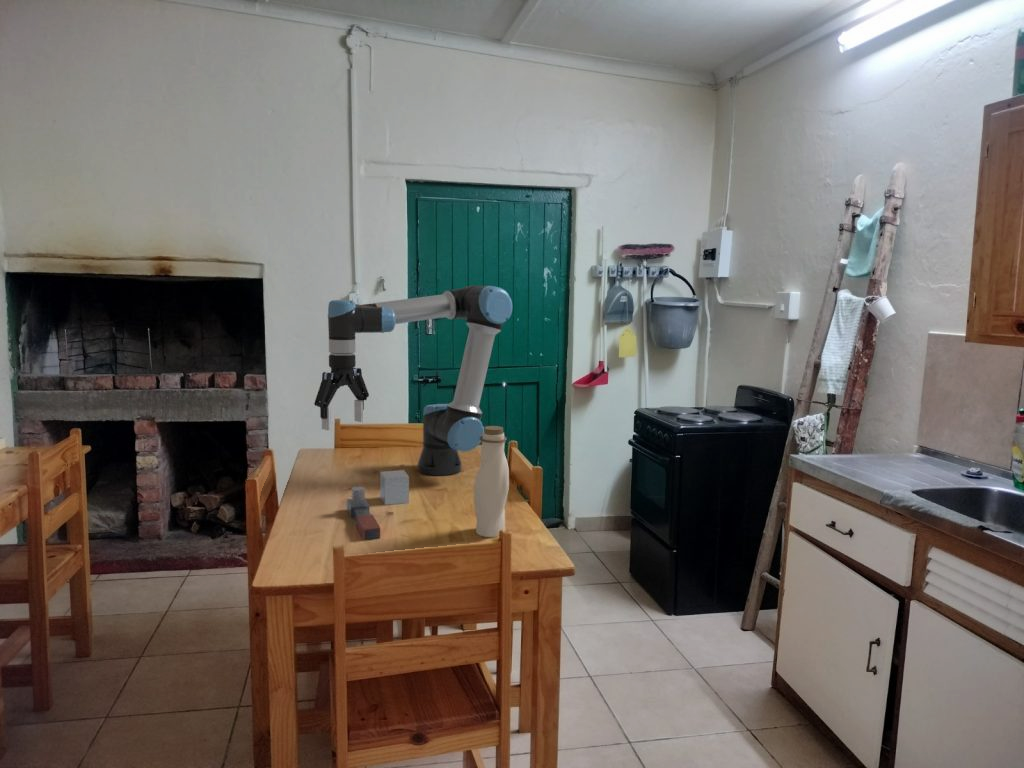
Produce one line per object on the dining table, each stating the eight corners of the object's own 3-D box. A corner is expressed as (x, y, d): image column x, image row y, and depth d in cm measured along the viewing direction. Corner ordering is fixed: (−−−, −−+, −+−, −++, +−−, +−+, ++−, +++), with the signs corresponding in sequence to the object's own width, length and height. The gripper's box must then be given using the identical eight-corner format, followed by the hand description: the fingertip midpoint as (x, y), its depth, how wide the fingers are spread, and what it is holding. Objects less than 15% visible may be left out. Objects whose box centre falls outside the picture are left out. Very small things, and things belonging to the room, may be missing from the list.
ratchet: (364, 507, 194) (364, 484, 193) (381, 538, 172) (381, 511, 171) (347, 509, 192) (346, 485, 191) (361, 540, 170) (361, 513, 169)
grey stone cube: (403, 495, 206) (403, 470, 205) (408, 502, 199) (409, 476, 198) (380, 497, 203) (380, 471, 202) (385, 504, 197) (385, 478, 196)
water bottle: (472, 524, 184) (475, 422, 180) (505, 524, 185) (508, 423, 180) (473, 538, 174) (476, 431, 170) (508, 538, 174) (512, 432, 170)
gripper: (361, 349, 209) (361, 416, 212) (300, 356, 188) (301, 431, 191) (380, 351, 206) (380, 419, 209) (320, 358, 184) (321, 435, 187)
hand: (343, 425), depth 200 cm, fingers open, 13 cm apart
